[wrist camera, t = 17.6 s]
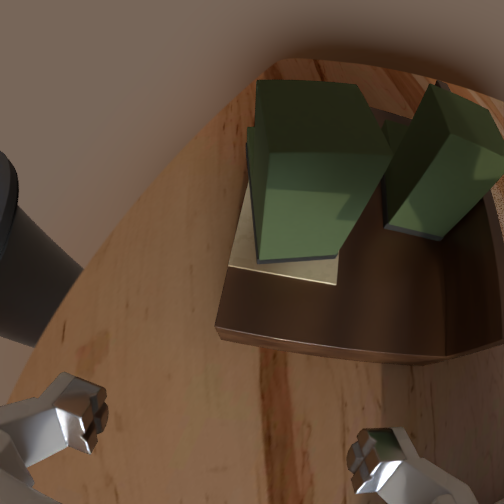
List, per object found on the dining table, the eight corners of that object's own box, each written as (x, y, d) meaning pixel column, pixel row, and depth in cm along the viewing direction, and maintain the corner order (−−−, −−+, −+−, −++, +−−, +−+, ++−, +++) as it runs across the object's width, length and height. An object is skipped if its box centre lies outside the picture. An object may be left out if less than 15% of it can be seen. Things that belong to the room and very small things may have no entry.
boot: (256, 264, 19) (266, 153, 10) (245, 149, 24) (246, 38, 15) (335, 259, 20) (396, 155, 11) (308, 147, 24) (331, 42, 15)
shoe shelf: (220, 339, 22) (200, 298, 12) (270, 121, 32) (277, 38, 23) (422, 365, 21) (514, 340, 11) (409, 153, 31) (447, 83, 21)
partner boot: (383, 228, 21) (448, 132, 12) (375, 137, 25) (411, 49, 16) (439, 241, 21) (515, 163, 12) (423, 151, 25) (467, 73, 16)
